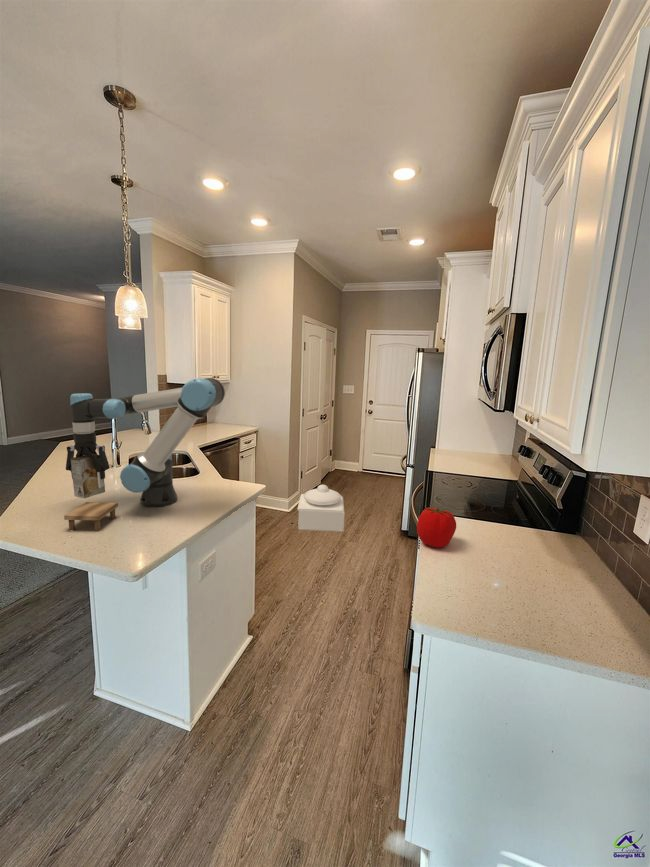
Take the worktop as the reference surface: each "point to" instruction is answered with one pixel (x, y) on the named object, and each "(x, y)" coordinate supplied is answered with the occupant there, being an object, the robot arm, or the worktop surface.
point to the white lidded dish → (321, 510)
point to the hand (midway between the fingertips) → (89, 486)
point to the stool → (91, 513)
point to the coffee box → (85, 477)
